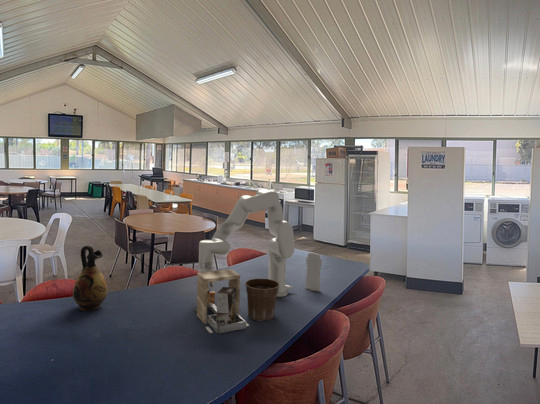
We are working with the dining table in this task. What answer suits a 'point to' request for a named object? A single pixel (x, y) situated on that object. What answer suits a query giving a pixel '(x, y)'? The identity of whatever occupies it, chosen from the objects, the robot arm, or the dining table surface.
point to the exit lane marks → (212, 332)
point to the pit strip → (207, 309)
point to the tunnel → (211, 277)
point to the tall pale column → (313, 271)
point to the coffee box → (226, 306)
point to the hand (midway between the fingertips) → (205, 299)
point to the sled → (212, 318)
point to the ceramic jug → (90, 282)
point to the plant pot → (261, 298)
